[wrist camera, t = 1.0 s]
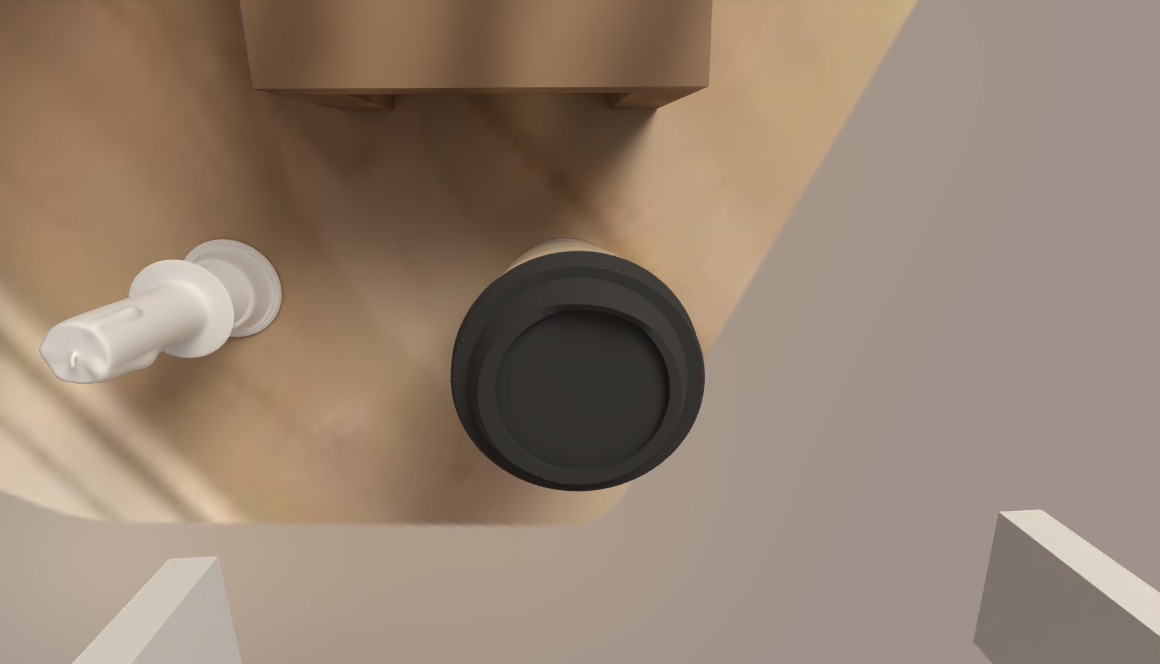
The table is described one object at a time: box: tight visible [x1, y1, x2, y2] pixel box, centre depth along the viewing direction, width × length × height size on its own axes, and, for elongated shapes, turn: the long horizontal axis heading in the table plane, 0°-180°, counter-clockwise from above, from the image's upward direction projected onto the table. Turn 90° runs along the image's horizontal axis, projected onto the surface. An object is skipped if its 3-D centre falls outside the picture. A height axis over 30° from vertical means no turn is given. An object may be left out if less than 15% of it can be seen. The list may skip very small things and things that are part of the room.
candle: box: [39, 239, 282, 384], centre depth 27 cm, size 5×5×12 cm
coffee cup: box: [451, 238, 705, 491], centre depth 27 cm, size 9×9×15 cm
